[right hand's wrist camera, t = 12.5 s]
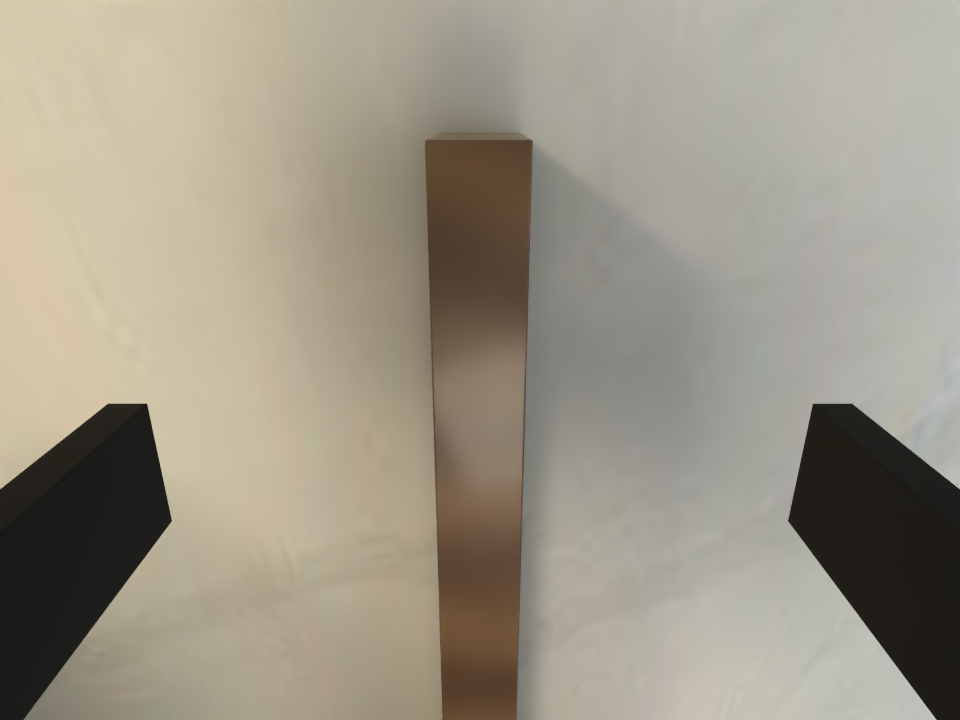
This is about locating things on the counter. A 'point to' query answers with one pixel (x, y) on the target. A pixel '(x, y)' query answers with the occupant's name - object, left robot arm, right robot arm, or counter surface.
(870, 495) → the right robot arm
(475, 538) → the post
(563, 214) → the counter surface
